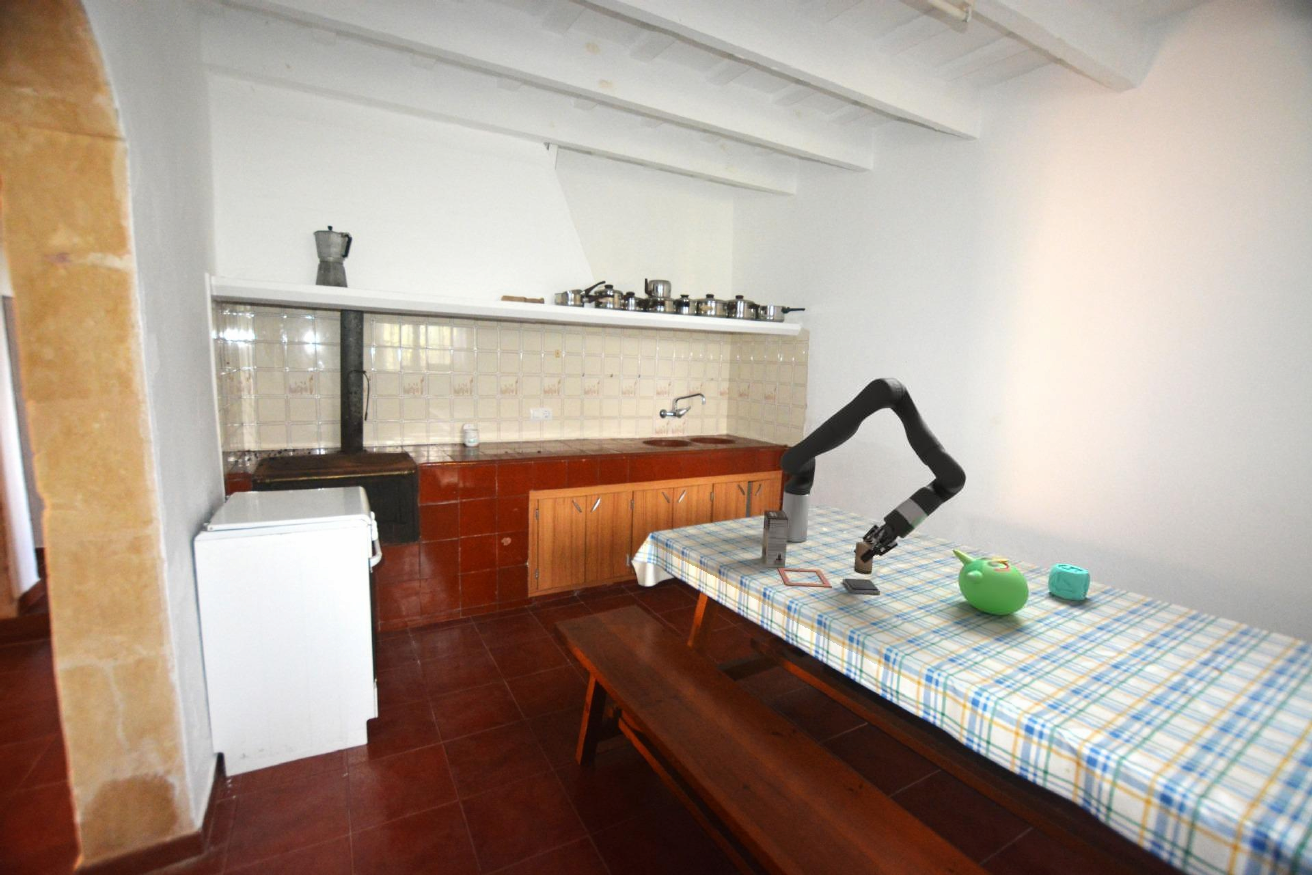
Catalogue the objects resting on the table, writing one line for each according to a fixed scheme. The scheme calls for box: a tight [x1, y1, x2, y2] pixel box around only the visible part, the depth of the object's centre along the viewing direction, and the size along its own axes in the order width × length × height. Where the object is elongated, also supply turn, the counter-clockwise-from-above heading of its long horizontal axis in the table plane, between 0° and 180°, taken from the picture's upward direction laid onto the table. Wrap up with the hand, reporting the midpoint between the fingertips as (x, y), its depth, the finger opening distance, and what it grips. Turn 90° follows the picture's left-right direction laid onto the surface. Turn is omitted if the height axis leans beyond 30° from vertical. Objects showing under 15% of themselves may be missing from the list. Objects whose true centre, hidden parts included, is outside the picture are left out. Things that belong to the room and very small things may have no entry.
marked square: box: [777, 567, 832, 588], centre depth 171 cm, size 13×13×1 cm
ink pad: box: [842, 578, 881, 595], centre depth 165 cm, size 8×8×1 cm
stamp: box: [853, 541, 874, 575], centre depth 163 cm, size 5×5×8 cm
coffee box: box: [761, 509, 789, 568], centre depth 182 cm, size 9×6×16 cm
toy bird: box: [952, 549, 1030, 616], centre depth 152 cm, size 18×17×15 cm
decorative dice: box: [1047, 563, 1091, 602], centre depth 165 cm, size 8×8×8 cm
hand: (859, 557), depth 163 cm, fingers closed on stamp, 4 cm apart
